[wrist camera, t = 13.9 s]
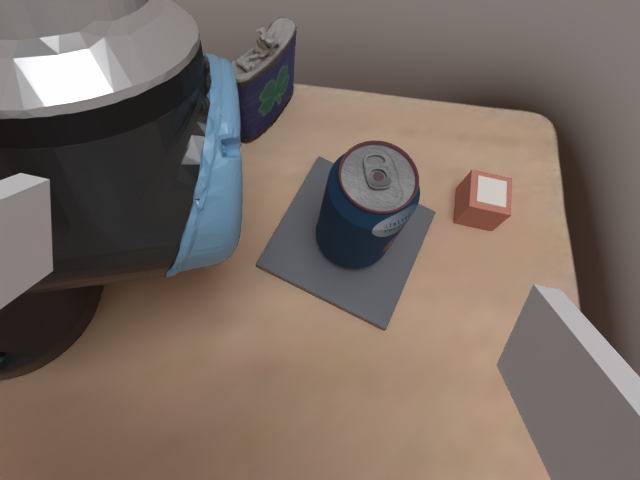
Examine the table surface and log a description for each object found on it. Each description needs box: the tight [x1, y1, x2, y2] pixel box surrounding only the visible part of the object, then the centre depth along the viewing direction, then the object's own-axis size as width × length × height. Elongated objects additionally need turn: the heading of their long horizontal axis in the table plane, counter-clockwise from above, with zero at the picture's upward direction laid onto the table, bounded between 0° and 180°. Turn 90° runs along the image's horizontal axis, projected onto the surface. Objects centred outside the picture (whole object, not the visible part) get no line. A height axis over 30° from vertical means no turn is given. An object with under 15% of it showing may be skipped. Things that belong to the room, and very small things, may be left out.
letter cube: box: [453, 170, 512, 231], centre depth 43 cm, size 4×4×4 cm
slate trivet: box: [256, 157, 435, 330], centre depth 42 cm, size 13×13×1 cm
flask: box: [231, 18, 297, 144], centre depth 42 cm, size 9×3×11 cm, turn 147°
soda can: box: [316, 141, 420, 268], centre depth 36 cm, size 7×7×12 cm
